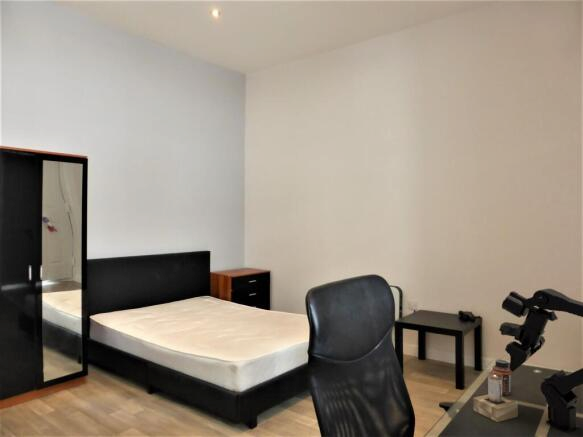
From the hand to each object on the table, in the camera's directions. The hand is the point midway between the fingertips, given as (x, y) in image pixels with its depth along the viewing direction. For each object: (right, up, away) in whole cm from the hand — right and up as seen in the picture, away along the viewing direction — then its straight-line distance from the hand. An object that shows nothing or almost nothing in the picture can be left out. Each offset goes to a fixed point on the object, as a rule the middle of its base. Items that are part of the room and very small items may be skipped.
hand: (516, 366), depth 136 cm
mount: (-9, -14, -3) cm, 17 cm away
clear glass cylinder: (-9, -14, -3) cm, 17 cm away
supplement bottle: (+2, -14, +13) cm, 20 cm away
